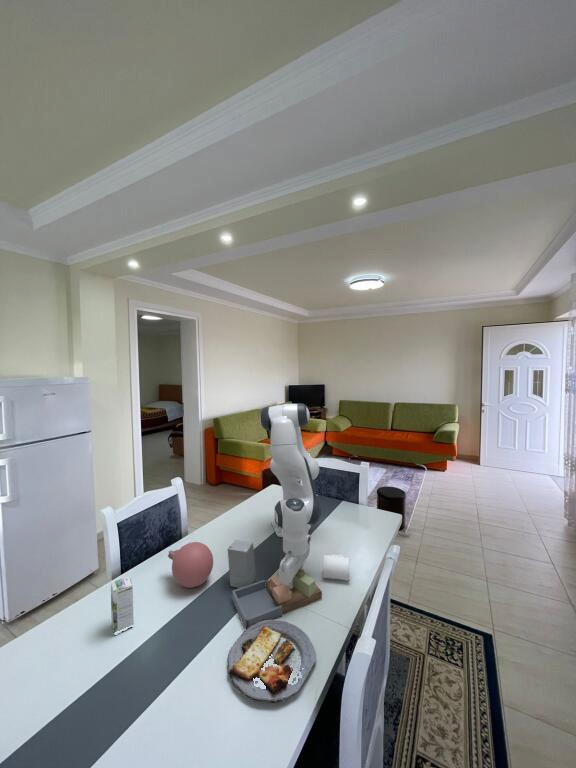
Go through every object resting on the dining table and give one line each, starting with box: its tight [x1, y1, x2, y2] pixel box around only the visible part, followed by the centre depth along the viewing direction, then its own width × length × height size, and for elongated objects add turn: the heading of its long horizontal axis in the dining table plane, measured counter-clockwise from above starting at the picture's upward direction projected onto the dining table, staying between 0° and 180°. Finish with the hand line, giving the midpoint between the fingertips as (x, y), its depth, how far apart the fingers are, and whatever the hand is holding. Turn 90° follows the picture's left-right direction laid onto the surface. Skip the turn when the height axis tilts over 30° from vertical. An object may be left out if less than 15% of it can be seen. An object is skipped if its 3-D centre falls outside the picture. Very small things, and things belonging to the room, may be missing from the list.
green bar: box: [292, 569, 316, 597], centre depth 117 cm, size 14×4×6 cm, turn 46°
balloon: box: [167, 541, 214, 589], centre depth 124 cm, size 15×20×15 cm
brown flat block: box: [265, 568, 323, 616], centre depth 117 cm, size 14×16×3 cm
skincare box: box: [227, 539, 257, 589], centre depth 122 cm, size 8×7×16 cm
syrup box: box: [110, 576, 135, 634], centre depth 103 cm, size 6×6×14 cm
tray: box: [231, 579, 283, 629], centre depth 110 cm, size 15×13×4 cm
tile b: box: [272, 584, 292, 604], centre depth 112 cm, size 5×5×2 cm
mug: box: [322, 553, 350, 581], centre depth 128 cm, size 12×10×8 cm
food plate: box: [227, 619, 317, 703], centre depth 91 cm, size 25×23×4 cm
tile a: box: [269, 573, 288, 588], centre depth 117 cm, size 5×5×2 cm
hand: (294, 580), depth 117 cm, fingers open, 6 cm apart
